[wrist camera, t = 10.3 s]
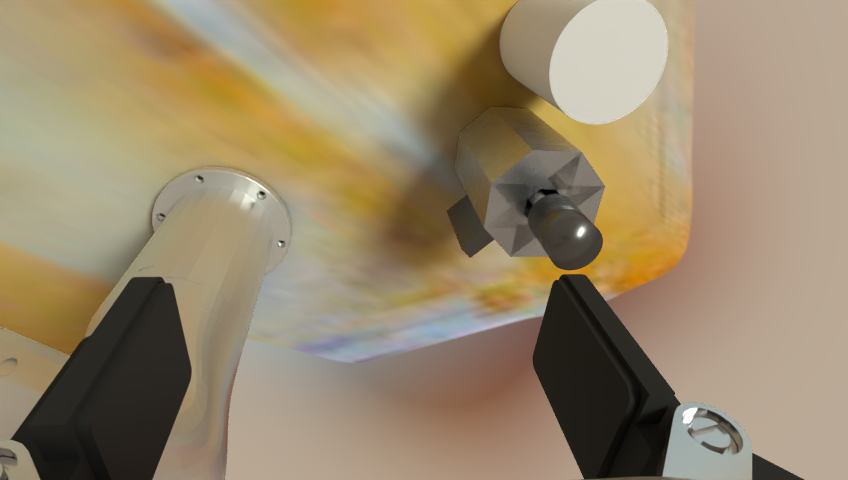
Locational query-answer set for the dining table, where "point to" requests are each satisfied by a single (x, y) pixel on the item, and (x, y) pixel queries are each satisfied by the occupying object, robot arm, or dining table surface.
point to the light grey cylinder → (586, 54)
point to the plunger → (563, 231)
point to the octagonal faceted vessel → (515, 179)
